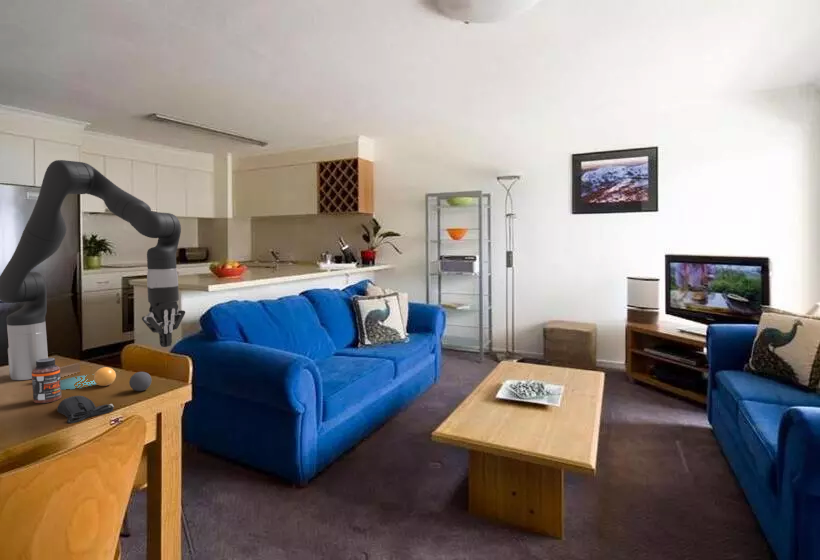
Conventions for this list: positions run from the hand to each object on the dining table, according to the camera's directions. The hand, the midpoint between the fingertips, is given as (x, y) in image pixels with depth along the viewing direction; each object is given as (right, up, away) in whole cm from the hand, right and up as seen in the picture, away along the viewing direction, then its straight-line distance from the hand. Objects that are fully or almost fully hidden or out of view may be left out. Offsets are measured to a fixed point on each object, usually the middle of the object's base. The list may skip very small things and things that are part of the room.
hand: (166, 346), depth 124 cm
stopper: (-43, -12, +16) cm, 47 cm away
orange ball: (-23, -10, +8) cm, 26 cm away
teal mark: (-32, -13, +12) cm, 37 cm away
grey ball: (-10, -11, +4) cm, 15 cm away
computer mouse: (-16, -16, -11) cm, 25 cm away
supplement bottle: (-30, -14, -4) cm, 34 cm away
